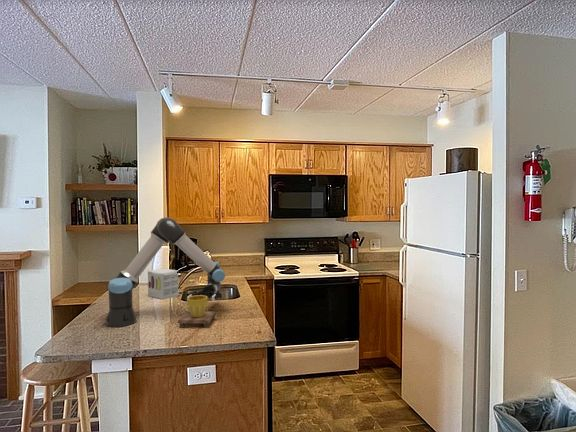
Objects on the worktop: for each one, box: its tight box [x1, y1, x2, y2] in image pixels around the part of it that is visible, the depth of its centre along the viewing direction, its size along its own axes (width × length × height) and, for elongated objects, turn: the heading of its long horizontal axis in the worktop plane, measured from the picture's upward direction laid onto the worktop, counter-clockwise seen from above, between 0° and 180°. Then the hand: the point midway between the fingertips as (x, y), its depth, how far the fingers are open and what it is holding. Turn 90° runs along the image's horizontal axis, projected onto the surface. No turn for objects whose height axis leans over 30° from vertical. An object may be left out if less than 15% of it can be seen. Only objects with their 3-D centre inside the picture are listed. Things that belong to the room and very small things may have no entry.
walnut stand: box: [177, 310, 217, 328], centre depth 204 cm, size 16×16×4 cm
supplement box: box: [147, 267, 179, 301], centre depth 266 cm, size 17×13×18 cm
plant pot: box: [187, 295, 209, 317], centre depth 204 cm, size 10×10×10 cm
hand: (200, 299), depth 208 cm, fingers open, 13 cm apart
